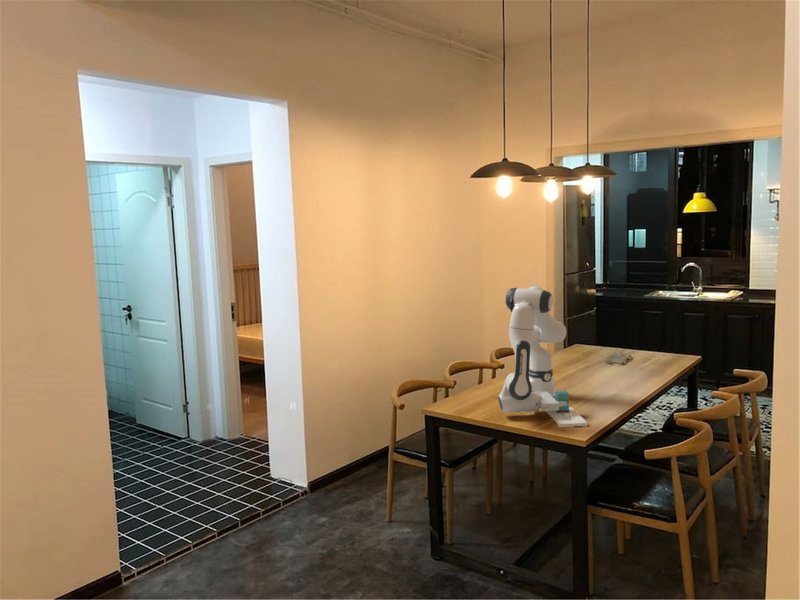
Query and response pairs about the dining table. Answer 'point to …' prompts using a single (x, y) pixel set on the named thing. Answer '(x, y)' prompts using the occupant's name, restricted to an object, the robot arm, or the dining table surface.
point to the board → (568, 418)
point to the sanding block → (561, 397)
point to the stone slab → (617, 358)
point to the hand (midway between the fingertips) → (563, 400)
